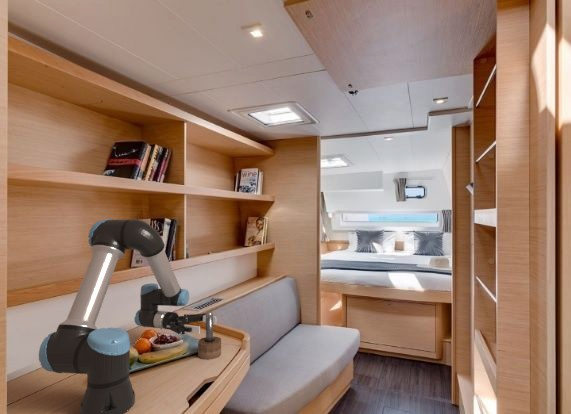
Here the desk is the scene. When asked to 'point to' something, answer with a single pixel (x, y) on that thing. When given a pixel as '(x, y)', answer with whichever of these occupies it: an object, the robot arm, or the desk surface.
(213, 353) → the bead
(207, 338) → the round-tipped metal rod
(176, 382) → the desk surface
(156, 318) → the robot arm
